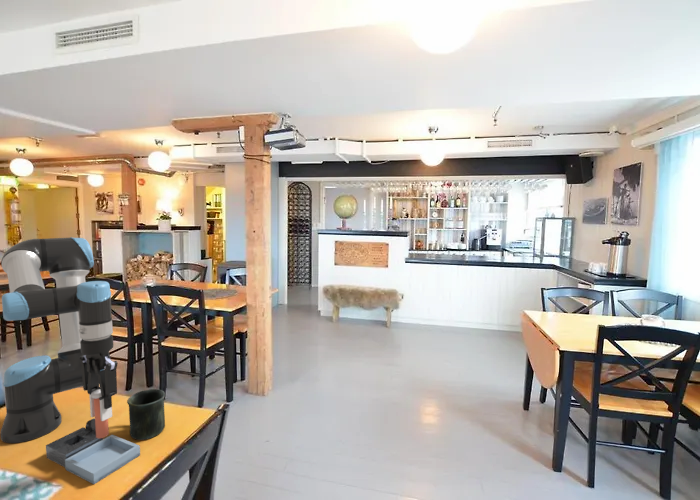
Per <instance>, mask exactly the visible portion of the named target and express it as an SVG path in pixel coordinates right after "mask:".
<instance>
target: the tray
mask: <svg viewBox="0 0 700 500" xmlns="http://www.w3.org/2000/svg"><path fill="white" fill-rule="evenodd" d="M140 456H141V446H140V445H139V444H136V443H134V442H131V441H129V440H126V439H125V438H122V437H119V436H117V435H114V434H110V435H109V436H108V435H107V436H106V437H104V438H103V440H101V441H99V442H97V443H95V444H93V445H92V446H90V447H88V448H86V449H84V450H82V451H80V452H79V453H77V454H75V455H73V456H71V457H69V458H67V459H66V460H65V467H64V469H65V471H67V472H69V473H71V474H73V475H75V476H77V477H79V478H81V479H82V480H84V481H87V482H88V483H90V484H92V485H95V484H97V483H99V482H100V481H102V480H104V479H105V478H106V477H109V475H111V474H113V473H114V472H116V471H117V470H120V468H122V467H124V466H125V465H127V464H129V463H130V462H132V461H134V460H135V459H137V458H138V457H140Z"/></svg>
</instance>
